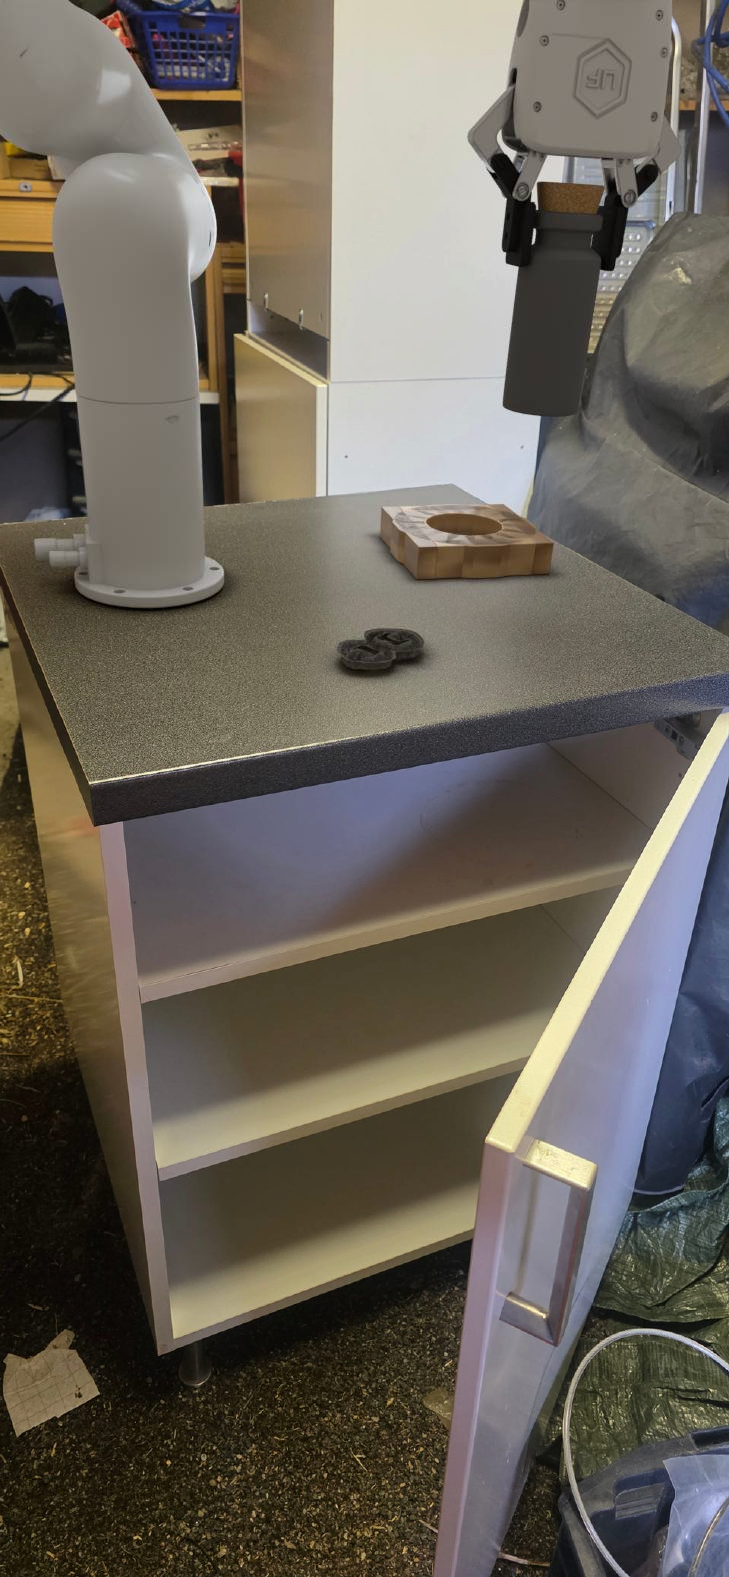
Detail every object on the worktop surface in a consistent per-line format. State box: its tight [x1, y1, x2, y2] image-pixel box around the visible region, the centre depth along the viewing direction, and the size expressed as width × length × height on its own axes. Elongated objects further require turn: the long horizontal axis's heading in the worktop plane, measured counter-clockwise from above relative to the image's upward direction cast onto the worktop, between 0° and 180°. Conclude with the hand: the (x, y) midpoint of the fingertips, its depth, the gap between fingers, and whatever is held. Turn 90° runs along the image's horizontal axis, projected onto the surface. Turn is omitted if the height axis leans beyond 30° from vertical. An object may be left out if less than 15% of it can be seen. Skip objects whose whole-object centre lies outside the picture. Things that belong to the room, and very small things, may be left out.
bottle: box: [502, 181, 605, 418], centre depth 75 cm, size 6×6×15 cm
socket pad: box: [379, 503, 555, 580], centre depth 99 cm, size 14×14×3 cm
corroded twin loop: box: [336, 627, 425, 670], centre depth 77 cm, size 5×8×1 cm, turn 141°
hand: (559, 264), depth 74 cm, fingers closed on bottle, 5 cm apart
